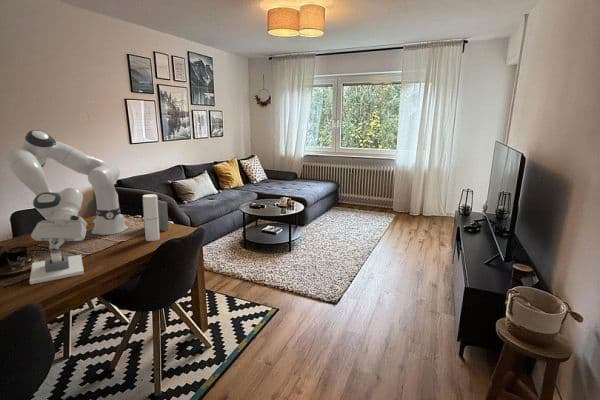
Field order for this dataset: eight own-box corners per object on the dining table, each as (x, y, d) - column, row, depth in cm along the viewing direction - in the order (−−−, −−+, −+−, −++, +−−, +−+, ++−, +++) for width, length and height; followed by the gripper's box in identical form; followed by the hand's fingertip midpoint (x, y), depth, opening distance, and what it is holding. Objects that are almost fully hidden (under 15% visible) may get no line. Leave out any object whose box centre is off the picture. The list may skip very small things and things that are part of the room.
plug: (54, 265, 143) (51, 248, 141) (63, 264, 144) (61, 247, 142) (51, 268, 139) (48, 251, 137) (60, 268, 140) (58, 251, 138)
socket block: (33, 265, 144) (31, 256, 143) (81, 257, 155) (80, 248, 154) (30, 284, 129) (28, 274, 128) (84, 273, 139) (82, 264, 138)
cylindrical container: (154, 241, 178) (151, 197, 172) (142, 240, 180) (139, 196, 174) (162, 237, 185) (159, 194, 179) (151, 236, 186) (148, 193, 181)
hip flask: (143, 228, 199) (141, 196, 194) (147, 226, 203) (145, 195, 198) (166, 231, 196) (164, 199, 191) (170, 229, 199) (168, 197, 195)
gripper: (34, 217, 142) (22, 246, 135) (85, 217, 145) (75, 246, 137) (42, 223, 147) (31, 252, 140) (91, 224, 150) (82, 251, 143)
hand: (53, 249), depth 139 cm, fingers closed, pressing on plug
